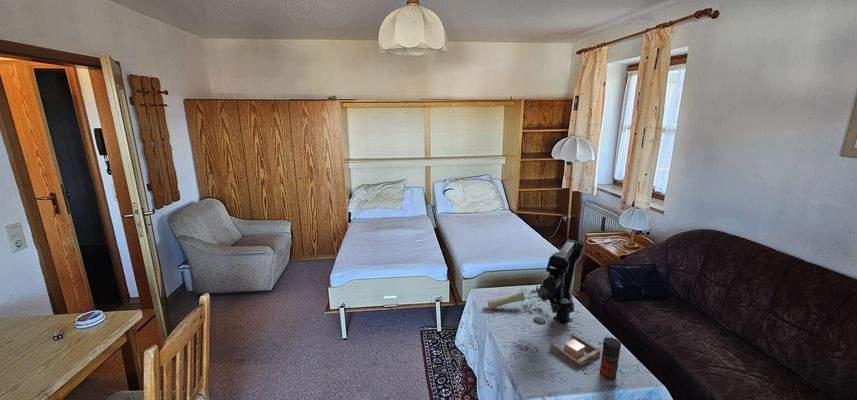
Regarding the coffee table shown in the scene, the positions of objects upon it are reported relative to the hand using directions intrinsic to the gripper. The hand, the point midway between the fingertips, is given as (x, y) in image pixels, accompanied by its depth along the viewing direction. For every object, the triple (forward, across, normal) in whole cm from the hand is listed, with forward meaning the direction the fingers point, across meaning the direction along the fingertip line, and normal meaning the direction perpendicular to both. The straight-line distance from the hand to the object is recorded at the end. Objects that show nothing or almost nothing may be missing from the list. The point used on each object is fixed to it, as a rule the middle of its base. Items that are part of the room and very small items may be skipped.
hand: (553, 312), depth 164 cm
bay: (+12, +14, +4) cm, 18 cm away
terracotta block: (+12, +13, +3) cm, 18 cm away
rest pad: (+12, -12, 0) cm, 17 cm away
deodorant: (+12, +28, +9) cm, 31 cm away
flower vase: (+12, -25, -4) cm, 28 cm away
